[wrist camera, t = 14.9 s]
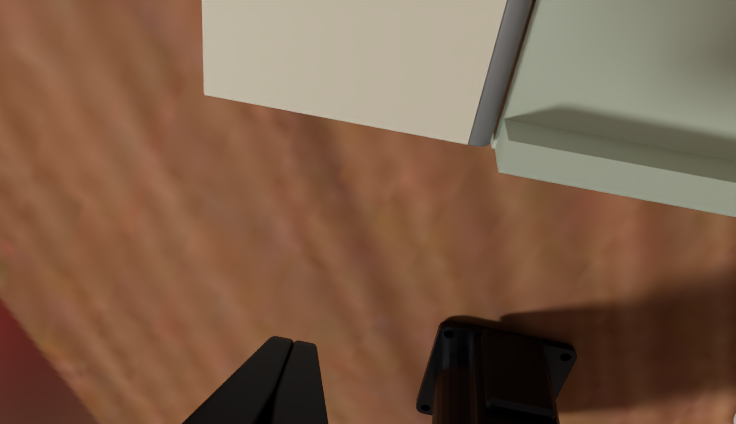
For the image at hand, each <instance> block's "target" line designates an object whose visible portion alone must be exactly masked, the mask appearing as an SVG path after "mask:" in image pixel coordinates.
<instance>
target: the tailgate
mask: <svg viewBox="0 0 736 424" xmlns="http://www.w3.org/2000/svg"><path fill="white" fill-rule="evenodd" d="M531 3H532V0H202V29H203V71H204V95H208V96H214V97H219V98H224V99H229V100H235V101H240V102H245V103H251V104H256V105H261V106H266V107H272V108H277V109H282V110H288V111H293V112H298V113H303V114H309V115H314V116H319V117H325V118H330V119H335V120H340V121H346V122H351V123H356V124H361V125H367V126H372V127H377V128H383V129H388V130H393V131H398V132H404V133H409V134H414V135H420V136H425V137H430V138H435V139H441V140H446V141H451V142H457V143H462V144H467V145H468V144H469V145H473V146H487V145H489V144H490V141H491V138H492V134H493V131H494V128H495V124H496V121H497V118H498V114H499V111H500V108H501V104H502V101H503V97H504V94H505V91H506V87H507V84H508V81H509V77H510V74H511V71H512V67H513V64H514V60H515V57H516V54H517V50H518V47H519V44H520V40H521V37H522V34H523V30H524V27H525V23H526V20H527V17H528V13H529V10H530V7H531Z"/></svg>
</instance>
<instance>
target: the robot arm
mask: <svg viewBox="0 0 736 424" xmlns="http://www.w3.org/2000/svg"><path fill="white" fill-rule="evenodd" d="M447 330H451V331H452V332H447ZM564 353H567V354H566V355H562V354H564ZM576 358H577V355H576V351H575V348H574V347H573V346H572V345H570V344H567V343H562V342H557V341H552V340H547V339H542V338H537V337H532V336H527V335H522V334H517V333H511V332H506V331H501V330H496V329H491V328H486V327H481V326H476V325H471V324H466V323H461V322H456V321H444V322H442V323H441V324H440V325H439V328H438V331H437V334H436V337H435V341H434V344H433V347H432V351H431V354H430V357H429V361H428V364H427V367H426V371H425V374H424V377H423V380H422V384H421V387H420V390H419V394H418V397H417V403H416V409H417V410H418V411H419V412H420V413H423V414H428V415H432V424H560V422H559V417H558V412H557V407H556V402H555V399H556V397H557V395H558V393H559V391H560V390H561V388H562V386H563V384H564V382H565V380H566V378H567V376H568V374H569V372H570V370H571V368H572V367H573V365H574V363H575V361H576ZM182 424H328V419H327V412H326V405H325V399H324V392H323V386H322V379H321V373H320V366H319V359H318V353H317V347H316V345H315V344H313V343H308V342H303V341H295V342H293V340H291V339H288V338H283V337H278V336H273V337H271V338H269V339H268V340H267V341H266V342H265V343H264V344H263V345H262V346H261V347H260V348H259V349H258V350H257V351H256V352H255V353H254V354H253V355H252V356H251V357H250V358H249V359H248V360H247V361H246V362H245V363H244V364H243V365H242V366H241V367H240V368H238V369H237V370H236V371H235V372H234V373H233V374H232V375H231V376H230V377H229V378H228V379H227V380H226V381H225V382H224V383H223V384H222V385H221V386H220V387H219V388H218V389H217V390H216V391H215V392H214V393H213V394H212V395H211V396H210V397H209V398H208V399H207V400H206V401H205V402H204V403H202V404H201V405H200V406H199V407H198V408H197V409H196V410H195V411H194V412H193V413H192V414H191V415H190V416H189V417H188V418H187V419H186V420H185V421H184V422H183V423H182Z"/></svg>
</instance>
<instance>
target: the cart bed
mask: <svg viewBox="0 0 736 424" xmlns="http://www.w3.org/2000/svg"><path fill="white" fill-rule="evenodd" d="M491 148H493V149H495V153H496V160H497V166H498V172H500V173H505V174H510V175H516V176H521V177H526V178H532V179H537V180H542V181H547V182H553V183H558V184H563V185H569V186H574V187H579V188H585V189H590V190H595V191H600V192H606V193H611V194H616V195H622V196H627V197H632V198H638V199H643V200H648V201H653V202H659V203H664V204H669V205H675V206H680V207H685V208H691V209H696V210H701V211H706V212H712V213H717V214H722V215H728V216H733V217H736V0H532V3H531V7H530V10H529V13H528V17H527V20H526V23H525V27H524V30H523V34H522V37H521V40H520V44H519V47H518V50H517V54H516V57H515V60H514V64H513V67H512V71H511V74H510V77H509V81H508V84H507V87H506V91H505V94H504V97H503V101H502V104H501V108H500V111H499V114H498V118H497V121H496V124H495V128H494V131H493V134H492V138H491Z"/></svg>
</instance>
